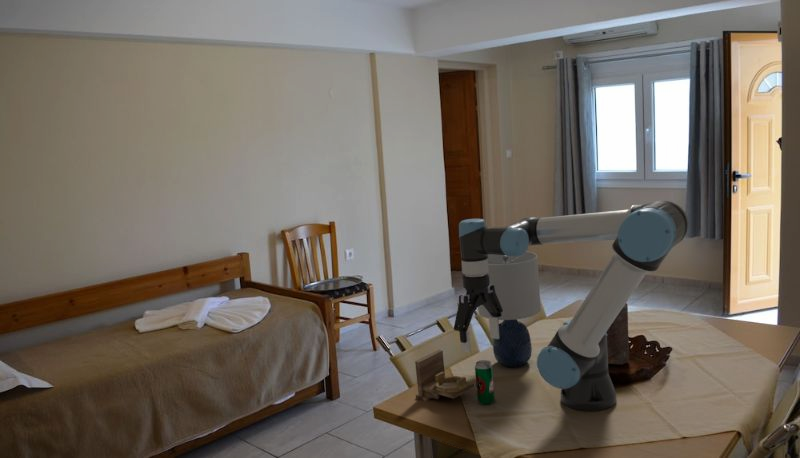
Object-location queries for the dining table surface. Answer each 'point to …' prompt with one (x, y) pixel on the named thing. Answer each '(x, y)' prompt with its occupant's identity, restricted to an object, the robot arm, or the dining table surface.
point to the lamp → (514, 304)
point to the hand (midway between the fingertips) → (481, 345)
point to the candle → (618, 339)
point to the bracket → (437, 379)
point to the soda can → (484, 382)
